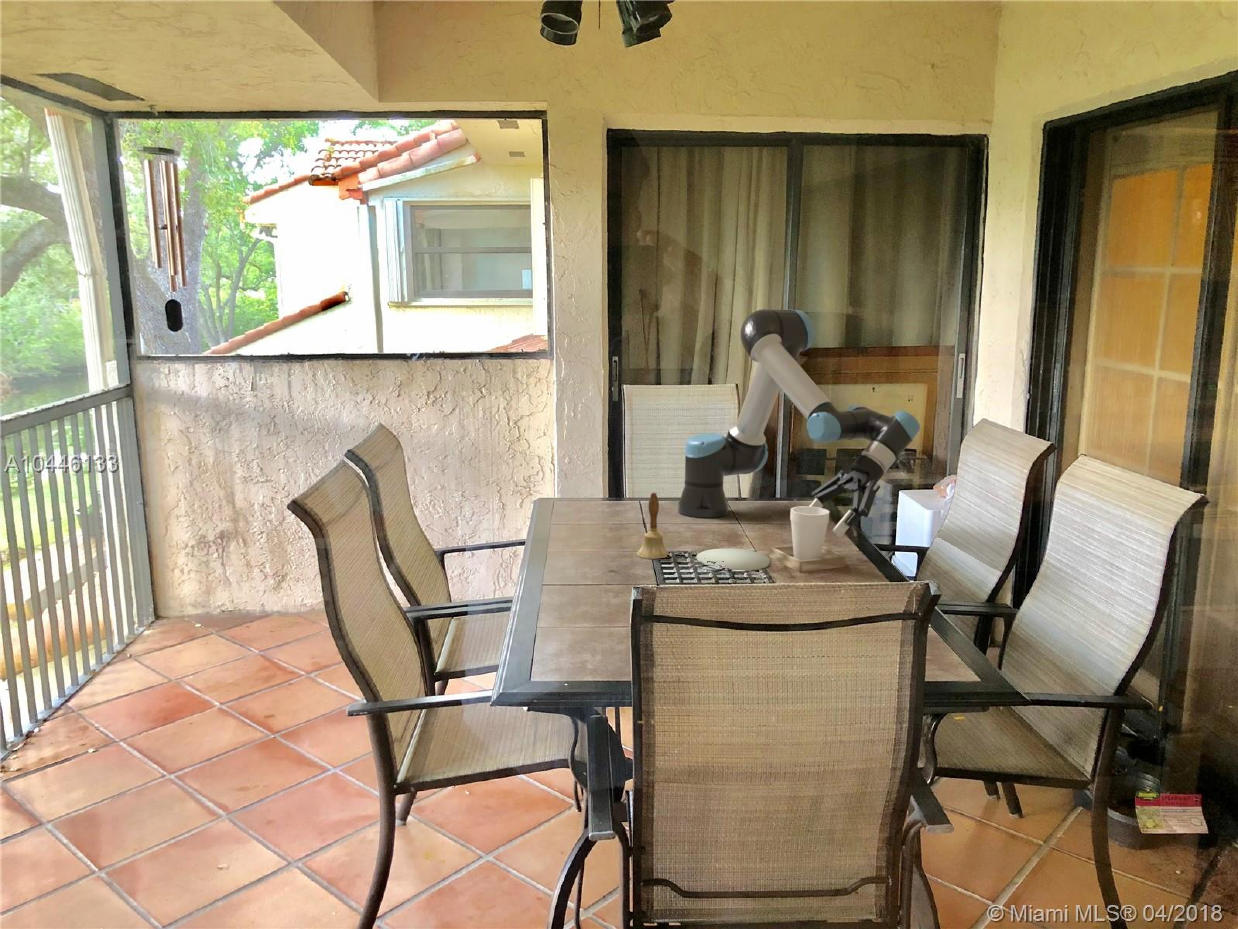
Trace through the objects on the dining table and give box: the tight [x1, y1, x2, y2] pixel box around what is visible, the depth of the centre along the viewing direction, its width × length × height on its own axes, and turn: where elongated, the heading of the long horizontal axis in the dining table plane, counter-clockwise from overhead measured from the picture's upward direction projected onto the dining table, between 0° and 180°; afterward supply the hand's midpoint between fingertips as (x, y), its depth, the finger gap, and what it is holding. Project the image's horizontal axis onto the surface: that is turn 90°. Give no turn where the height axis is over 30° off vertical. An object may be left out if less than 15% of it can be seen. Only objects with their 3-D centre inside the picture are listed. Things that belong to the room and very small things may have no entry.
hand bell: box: [636, 492, 670, 561], centre depth 226 cm, size 8×8×16 cm
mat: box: [695, 548, 771, 571], centre depth 224 cm, size 18×18×1 cm
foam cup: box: [789, 505, 830, 561], centre depth 223 cm, size 10×9×13 cm
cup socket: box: [768, 544, 848, 573], centre depth 224 cm, size 14×14×2 cm
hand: (819, 527), depth 223 cm, fingers open, 13 cm apart
